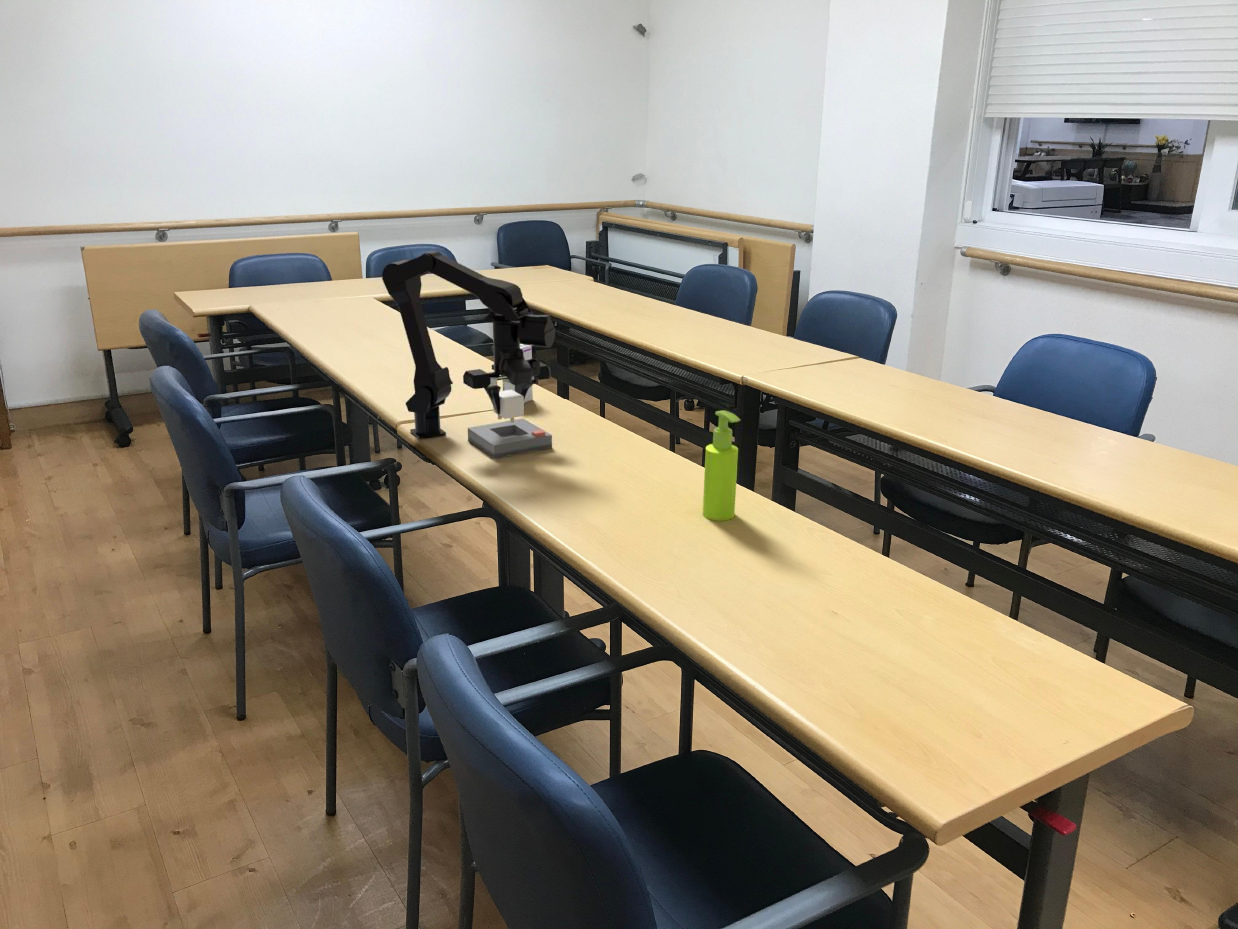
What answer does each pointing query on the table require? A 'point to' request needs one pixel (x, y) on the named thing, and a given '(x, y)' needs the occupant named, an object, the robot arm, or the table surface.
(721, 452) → the soap dispenser
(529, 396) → the syrup box
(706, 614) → the table surface
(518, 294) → the robot arm
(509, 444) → the socket
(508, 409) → the plug
